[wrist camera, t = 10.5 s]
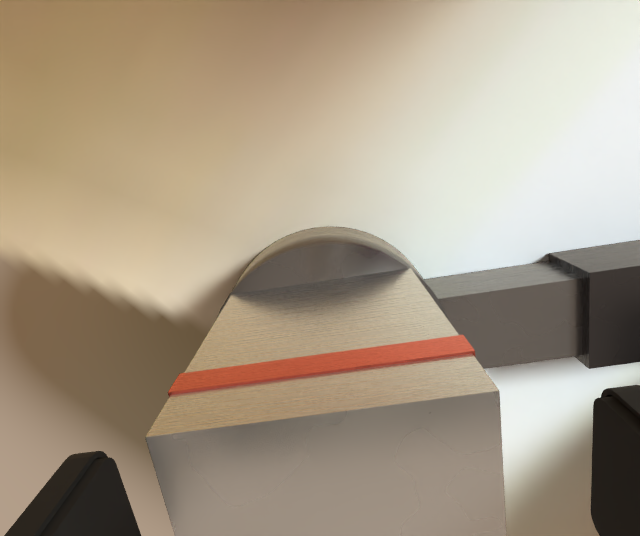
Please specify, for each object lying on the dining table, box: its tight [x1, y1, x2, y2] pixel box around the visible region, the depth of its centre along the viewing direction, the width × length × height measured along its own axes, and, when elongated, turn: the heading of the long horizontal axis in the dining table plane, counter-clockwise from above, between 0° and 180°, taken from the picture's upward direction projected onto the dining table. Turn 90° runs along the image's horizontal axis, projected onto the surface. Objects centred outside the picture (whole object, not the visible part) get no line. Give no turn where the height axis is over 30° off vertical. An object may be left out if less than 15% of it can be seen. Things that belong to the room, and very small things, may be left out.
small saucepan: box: [217, 227, 640, 369], centre depth 14 cm, size 20×8×7 cm, turn 99°
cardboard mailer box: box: [145, 268, 506, 536], centre depth 11 cm, size 6×6×7 cm
